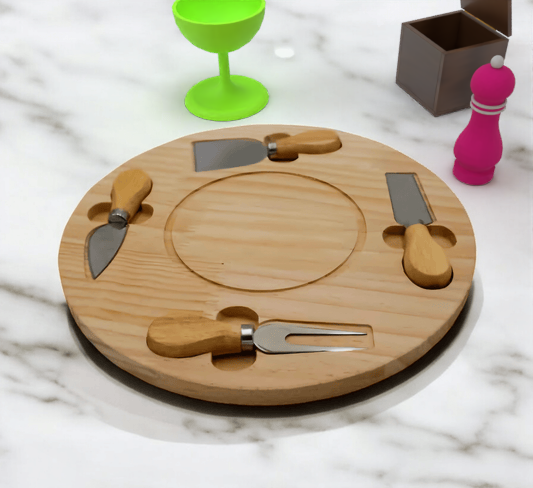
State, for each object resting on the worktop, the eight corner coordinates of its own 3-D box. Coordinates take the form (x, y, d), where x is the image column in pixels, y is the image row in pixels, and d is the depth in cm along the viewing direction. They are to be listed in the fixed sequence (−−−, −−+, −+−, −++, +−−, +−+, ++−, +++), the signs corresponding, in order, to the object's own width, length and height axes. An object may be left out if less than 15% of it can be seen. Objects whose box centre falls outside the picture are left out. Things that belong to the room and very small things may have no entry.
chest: (434, 117, 115) (444, 54, 107) (395, 82, 125) (401, 22, 117) (495, 101, 119) (509, 39, 111) (452, 68, 128) (462, 9, 120)
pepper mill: (488, 193, 99) (517, 73, 86) (442, 179, 102) (464, 61, 89) (502, 168, 104) (532, 50, 90) (458, 155, 107) (481, 40, 93)
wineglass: (271, 118, 117) (268, 21, 105) (182, 123, 117) (169, 27, 105) (266, 75, 129) (263, -17, 117) (186, 80, 129) (174, -12, 116)
